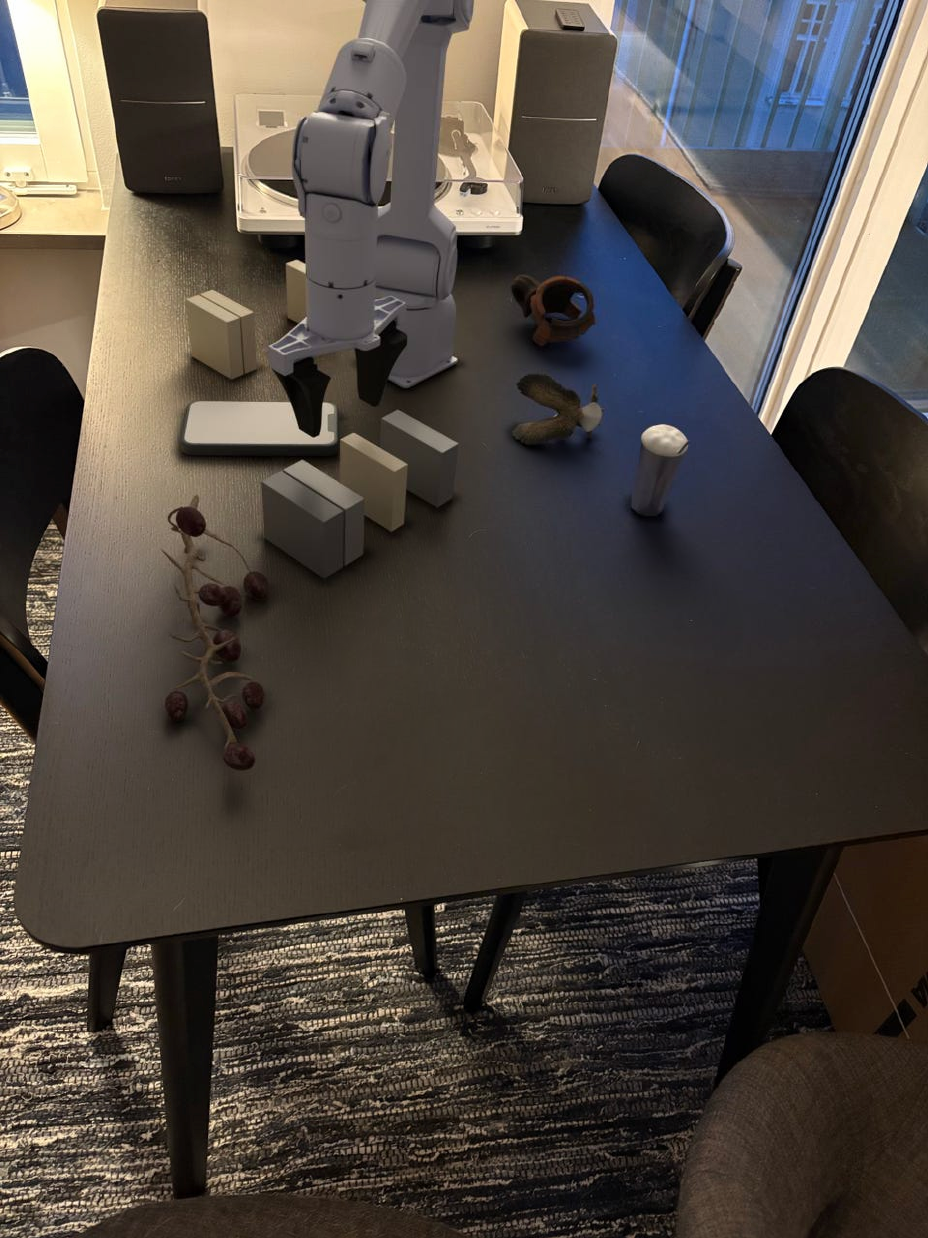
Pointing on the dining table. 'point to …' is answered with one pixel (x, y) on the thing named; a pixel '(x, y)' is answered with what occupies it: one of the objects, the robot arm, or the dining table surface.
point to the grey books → (350, 496)
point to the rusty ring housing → (554, 306)
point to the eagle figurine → (561, 401)
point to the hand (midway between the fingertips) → (339, 416)
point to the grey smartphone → (255, 430)
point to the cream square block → (374, 480)
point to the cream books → (236, 325)
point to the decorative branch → (215, 637)
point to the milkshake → (657, 468)
